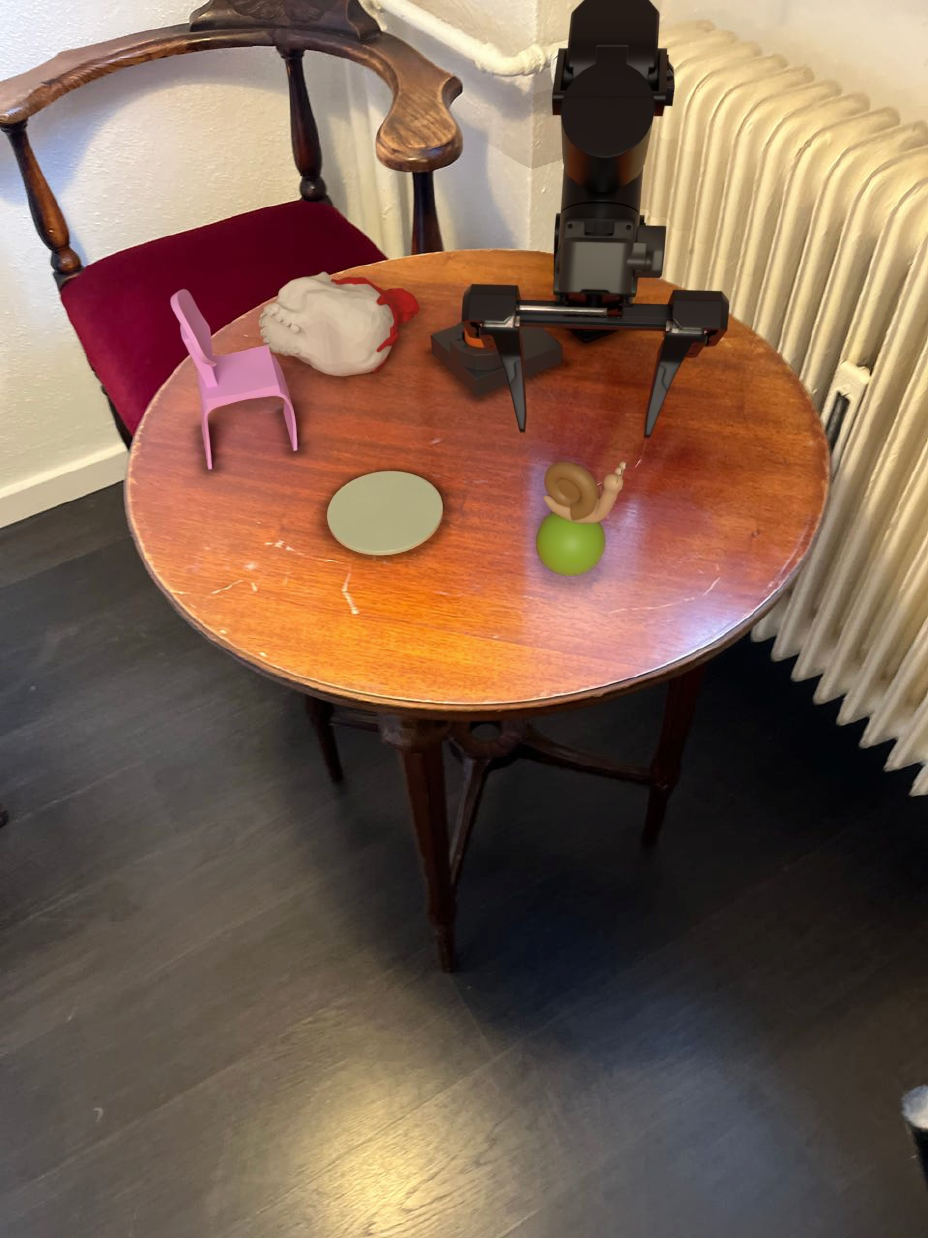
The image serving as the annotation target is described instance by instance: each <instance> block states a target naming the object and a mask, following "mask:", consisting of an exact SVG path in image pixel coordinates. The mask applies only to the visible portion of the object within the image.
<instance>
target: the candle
mask: <svg viewBox="0 0 928 1238" xmlns="http://www.w3.org/2000/svg"><path fill="white" fill-rule="evenodd" d="M277 294H278V297H277V299H276V301H274V302H270V303H269V304H266V305H265V306H264V308H263V311H262V313H260V315H259V318H260V319H259V320H258V326H259V327H261V329H260V330H259V335H260V336H261V337H262V342H263V344H266V345H268V347H269V350H271V351H272V352H273V354H280V355H282V356H284V357H294V358H296V359H298V360H299V361H300V362H302V363H304V364H306V365H310V366H311V367H312V368H313V369H314V370H316V371H318V372H320V373H323V374H325V375H328V376H333V377H348V376H356V375H362V374H368V373H370V374H374V373H376V372H378V371H380V370H381V369H382V367H383V366H384V365H385V364H386V363H387V361H388V358H389V354H390V352H391V350H392V347H393V345H395V344H396V343H397V341H398V338H399V336H400V333H399V330H400V329H399V328H400V325H401V324H403V323H406V322H409V321H410V320H411V319H413V318H414V317H415V316H416V315H417V314H418V313H419V311H420V310H421V306H420V304H419V302H418V301H417V299H416V297H415V295H414V294H412V293H411V292H410V291H408V290H406V289H405V288H404V287H394V288H388V289H383V288H381V287H380V286H378V285H376V284H375V283H373V282H372V281H370V280H369V279H367V278H366V277H361V276H360V277H359V276H357V277H356V276H355V277H352V276H346V277H342V278H340V279H335V278H333V277H332V275H329V273H327V272H326V271H322V272H320V273H319V274H316V275H310V276H303V277H299V278H295V279H291V280H290V281H289V282H288V283H286V284H285V285H283V286H282V288H280V289H279V291H278V293H277Z"/></svg>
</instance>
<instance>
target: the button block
mask: <svg viewBox="0 0 928 1238" xmlns="http://www.w3.org/2000/svg"><path fill="white" fill-rule="evenodd" d="M520 335H521V339H522V343H523V352H524V370H525V379H526V378H528V377H531V376H534V375H535V374H538V373H540V372H543V371H546V370H548V369H551V368H553V367H556V366H558V365H561V364H562V359H563V357H562V355H563V344H562V343H560V342H559V341H558V340H557V339H556V338H554V337H553V336H552V335H551V334H549V333H548V332H547V331H546V330H545V329H544V328H543V327H521V332H520ZM430 343H431V344H430V345H431V354H432V355H433V356H434V357H436V359H437V360H438V361H439V362H440V363H442V365H444V367H446V369H447V370H449V372H451V374H452V375H453V376H455V377H456V379H458V381H460V382H461V383H462V384H463V385H464V386H465V387H466V389H468V390H469V391H470V392H471V393H472V395H474V396H475V397H476V398H479V397H482V396H484V395H486V394H489V393H491V392H493V391H496V390H500V389H501V388H504V387H506V386H509V384H508V380H507V376H506V373H505V370H504V367H503V364H502V361H501V359H500V356H499V353H498V351H490V350H486V349H485V347H484V348H477V347H473V346H470V345H468V344H467V343H466V341H465V329H464V326H463V324H462V322H461V321H460V322H458V323H457V324H456V325H453V326H450V327H448V328H445V329H443V330H440V331H437V332H435V333H432V334H430Z"/></svg>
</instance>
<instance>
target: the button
mask: <svg viewBox="0 0 928 1238" xmlns="http://www.w3.org/2000/svg"><path fill="white" fill-rule="evenodd" d="M464 329H465V328H464ZM465 341H466V343H467V344H468V345H470V346H473V347H477V348H484V345H483V343H482V341H481V339H475V338H471V337H469V336H468V334H467V332H466V330H465Z"/></svg>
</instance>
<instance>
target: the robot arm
mask: <svg viewBox="0 0 928 1238" xmlns="http://www.w3.org/2000/svg"><path fill="white" fill-rule="evenodd" d="M660 17H661V13H660V10H659V9H658V8H656V6H655V5H654V3H653V2H652V1H651V0H582V1H581V2H580V3H579V4H578V5H577V6H576V7H575V8H574V10H572V12H571V14H570V21H569V31H568V39H567V47H558V50H557V56H556V64H555V70H554V79H553V84H552V92H551V110H552V113H551V114H552V116H560V129H561V132H560V133H561V155H562V164H563V170H562V171H563V172H562V185H561V186H562V187H561V199H560V200H561V201H560V212H555V219H554V220H555V221H554V231H553V232H554V233H553V283H552V284H553V286H552V295H553V296H554V300H544V299H543V300H540V299H539V300H538V299H535V300H534V299H522V298H521V293H520V288H519V285H518V284H491V283H490V284H488V283H487V284H486V283H483V284H482V283H471V284H470V285H469V286H468V287H467V288H466V290H465V291H464V292H463V295H462V305H461V321H460V322H462V324H463V326H464V328H465V330H466V332H467V334H468V336H469V337H471V338H475V339H481V341H482V343H483V345H484V347H485V349H486V350H490V351H498V353H499V356H500V359H501V361H502V364H503V367H504V370H505V373H506V376H507V380H508V384H509V385H508V388H509V390H510V391H509V392H510V396H511V401H512V405H513V410H514V414H515V418H516V422H517V426H518V431H519V433H520V434H525V433H526V430H527V429H526V428H527V417H528V416H527V415H528V409H527V408H528V407H527V392H526V391H527V390H526V378H525V370H524V352H523V343H522V339H521V335H520V332H521V327H541V328H549V329H551V328H552V329H566V331H568V332H570V333H571V334H572V335H573V336H574V337H576V338H577V339H578V340H579V341H581V342H582V343H584V344H589V343H591V342H594V341H597V340H599V339H601V338H604V337H607V336H610V335H612V334H614V333H617V332H619V331H636V332H637V331H638V332H639V331H640V332H663V333H662V337H663V339H662V341H661V344H660V345H659V347H658V350H657V353H656V360H655V365H654V370H653V375H652V380H651V386H650V391H649V395H648V400H647V406H646V411H645V416H644V423H643V424H644V425H643V426H644V427H643V439H644V440H645V439H646V440H649V439H651V437H652V433H653V431H654V428H655V426H656V423H657V420H658V418H659V416H660V413H661V410H662V409H663V405H664V403H665V400H666V398H667V395H668V392H669V390H670V388H671V385H672V383H673V381H674V379H675V377H676V375H677V373H678V371H679V369H680V367H681V366H682V363H683V362H684V360H685V359H694V358H697V357H699V355H700V353H702V351H703V349H704V348H710V347H717V345H718V343H719V342H720V341H721V339H722V338H723V337H724V336H725V334H726V333H727V332H728V327H729V317H730V300H729V298H728V297H727V296H726V294H725V293H724V291H723V290H704V289H703V290H702V289H700V290H699V289H672V292H671V294H670V297H669V298H668V301H667V303H642V302H641V303H640V302H638V303H637V302H634V299H635V298H636V297H637V294H638V283H639V282H638V281H639V278H641V279H642V278H643V279H661V278H662V277H663V272H664V263H665V253H666V239H667V225H653V224H652V225H651V224H650V225H648V224H647V222H645V217H646V215H645V214H641V205H642V204H641V203H642V191H643V179H644V166H645V164H646V160H647V157H648V151H649V145H650V140H651V134H652V129H653V123H654V118H655V117H664V114H665V113H664V112H665V108H666V107H673V105H674V98H675V97H674V96H675V90H676V82H675V81H676V80H675V68H674V66H673V64H672V63H671V62H670V54H668V48H667V47H659V39H660V38H659V37H660Z"/></svg>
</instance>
